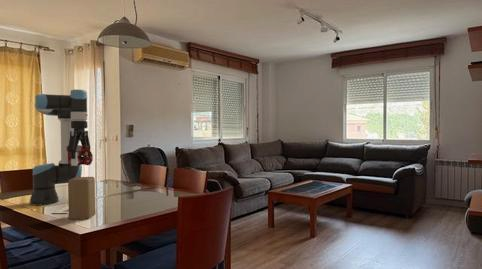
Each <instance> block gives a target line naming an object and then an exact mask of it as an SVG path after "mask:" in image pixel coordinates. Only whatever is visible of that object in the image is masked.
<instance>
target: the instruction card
mask: <svg viewBox="0 0 482 269" xmlns="http://www.w3.org/2000/svg"><path fill="white" fill-rule="evenodd" d="M53 212H54V213H69V205H67V206H64V207H63V208H60V209H58V210H56V211H53Z"/></svg>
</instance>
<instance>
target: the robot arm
mask: <svg viewBox="0 0 482 269" xmlns="http://www.w3.org/2000/svg"><path fill="white" fill-rule="evenodd" d="M87 93H88V92H87V90H84V89H72V90H71V89H70V93H69V94H49V93H48V94H45V93H39V94H38V93H37V94H35V99H34V100H35V101H34V102H35V103H34V108H35V110H36V111H37V112H39V114H40V113H41V114H43V115H46V116H51V117H52V116H57V120H59V122H60V160H59V161H58V162H57V163H58V165H57V164H55V163H53V162H51V163H44V164H38V165H35V166H33V168H32V193H31V196H30V199H29V204H30V203H31V204H44V205H49V204H50V203H51V204H55V203H58V202H60V201H59V195H58V193H57V191H56V185H62V184H68V180H70V179H73V178H75V177H82V171H83V166H82V165H80V166H77V152H76V150H77V147H78V145H79V142H80V145H81V146H83V145H86V146H87V147H86V148H89V149H90V150H91V143H90V138H89V130H85V129H88V121H87V120H88V115H89V114H88V94H87ZM67 146H68V152H71V165H69V164H68V152H67ZM70 148H71V149H70ZM87 156H88V155H87ZM87 156H86V157H87ZM82 157H84V156H82ZM31 204H30V205H31Z"/></svg>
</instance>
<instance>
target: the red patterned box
mask: <svg viewBox="0 0 482 269" xmlns="http://www.w3.org/2000/svg"><path fill="white" fill-rule="evenodd" d="M86 147H87V146H86V145H83V146H82V144H78V147H77V150H76V152H77V166H80V165H84V166H90V165H91V164H92V163H93V161H94V160H93V159H94V158H93V156H94V155H93V153H92V151H91V148H90V149H89V148H86ZM70 149H71V148H70ZM67 152H68V146H67ZM87 155H88V156H87ZM83 156H84V157H83ZM86 156H87V157H86ZM68 164H69V165H71V152H68Z"/></svg>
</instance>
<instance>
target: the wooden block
mask: <svg viewBox="0 0 482 269" xmlns="http://www.w3.org/2000/svg"><path fill="white" fill-rule="evenodd" d="M95 179H96V178H95V176H81V177H75V178H73V179H70V180H68V183H67V189H68V191H67V192H68V193H67V196H68V206H69V214H68V219H69V220H71V219H76V220H89V219H91V218H92V217H93V216H95V215H96V183H95V182H96V180H95Z"/></svg>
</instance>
